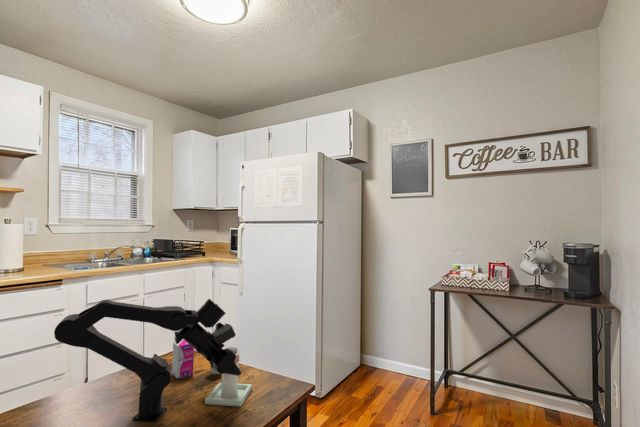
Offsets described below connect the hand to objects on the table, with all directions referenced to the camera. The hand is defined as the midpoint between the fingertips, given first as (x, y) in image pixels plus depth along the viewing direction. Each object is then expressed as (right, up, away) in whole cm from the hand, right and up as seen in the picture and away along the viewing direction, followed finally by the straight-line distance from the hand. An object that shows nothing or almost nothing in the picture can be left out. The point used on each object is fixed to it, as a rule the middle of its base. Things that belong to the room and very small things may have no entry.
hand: (234, 368), depth 109 cm
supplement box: (-22, -9, +14) cm, 27 cm away
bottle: (-1, -8, -1) cm, 8 cm away
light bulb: (-11, -9, +15) cm, 20 cm away
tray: (-1, -8, -1) cm, 8 cm away
